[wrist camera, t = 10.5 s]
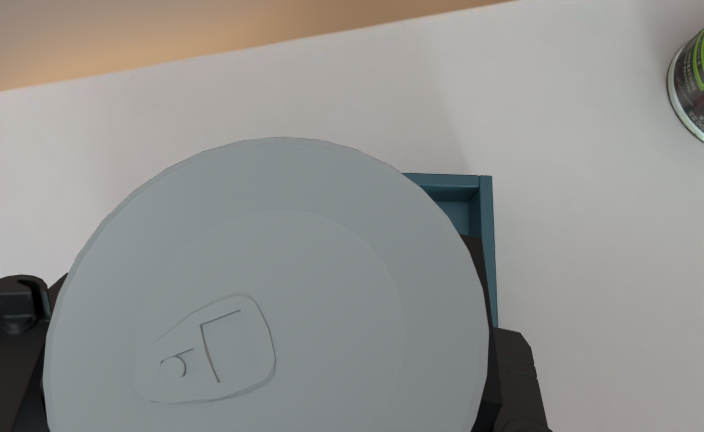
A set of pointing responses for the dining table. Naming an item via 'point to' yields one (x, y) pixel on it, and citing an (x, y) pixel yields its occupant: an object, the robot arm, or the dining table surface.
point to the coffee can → (689, 84)
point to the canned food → (270, 302)
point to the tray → (466, 214)
